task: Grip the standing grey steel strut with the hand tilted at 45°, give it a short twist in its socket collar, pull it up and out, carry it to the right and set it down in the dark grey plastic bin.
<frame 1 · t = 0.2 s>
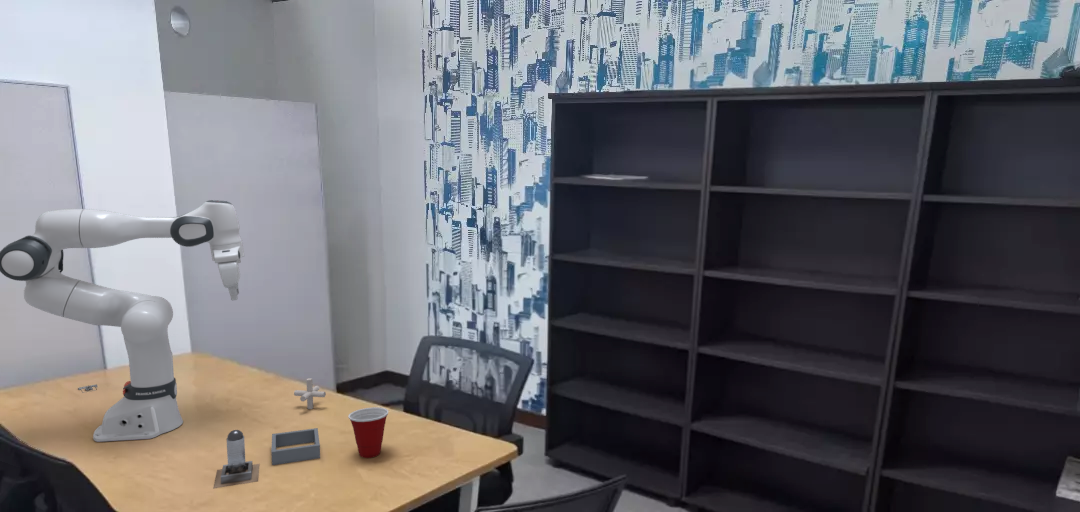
hand: (235, 297, 191), 39 cm above the table, tool pointing down, fingers open, 8 cm apart
socket plate: (237, 479, 158), on the table
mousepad: (78, 390, 219), on the table
bin: (296, 456, 171), on the table
plastic cup: (369, 453, 174), on the table
strut: (237, 475, 157), point 1 cm above the table, touching socket plate
pipe connector: (310, 408, 205), on the table
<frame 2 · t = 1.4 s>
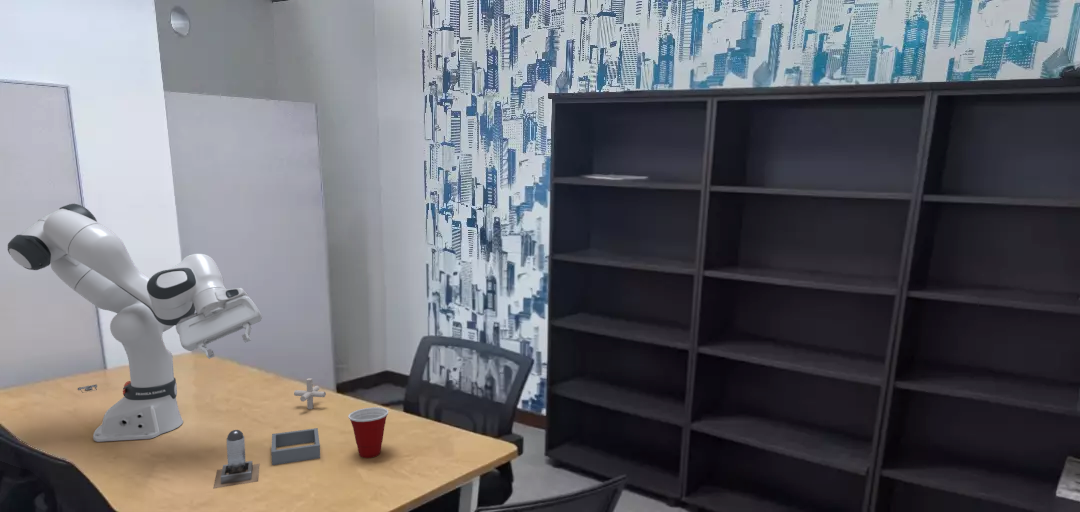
hand: (229, 348, 163), 31 cm above the table, tool tilted 45°, fingers open, 8 cm apart
nothing on the table moved.
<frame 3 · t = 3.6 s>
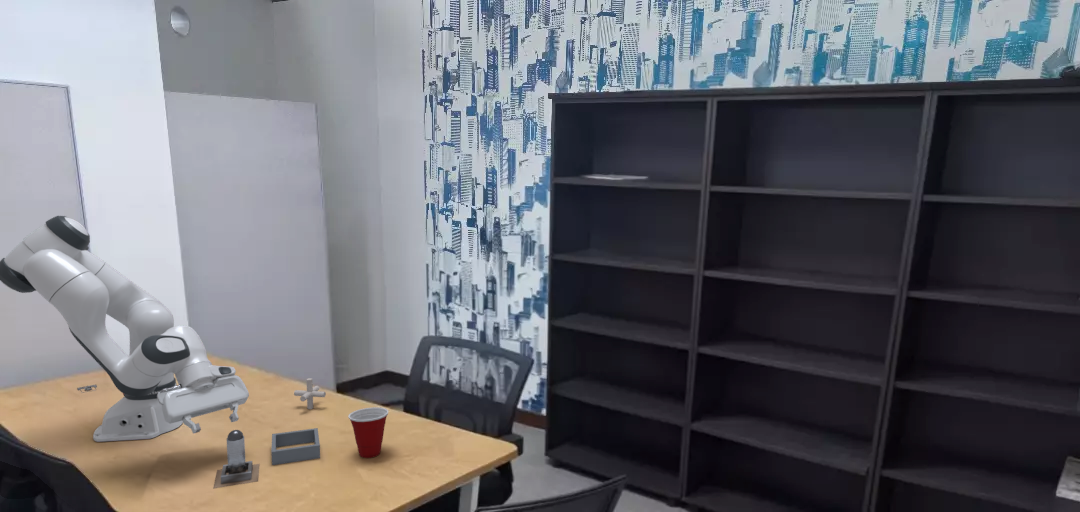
hand: (216, 426, 159), 13 cm above the table, tool tilted 45°, fingers open, 8 cm apart
nothing on the table moved.
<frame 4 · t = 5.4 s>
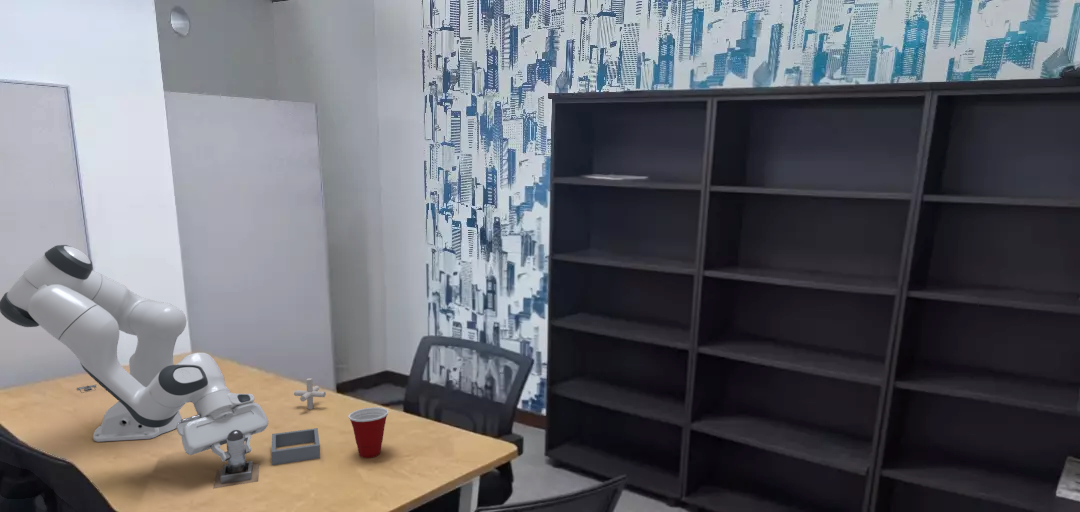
hand: (237, 456, 156), 7 cm above the table, tool tilted 45°, fingers closed on strut, 4 cm apart
strut: (237, 475, 157), point 1 cm above the table, touching gripper, socket plate
everything else where it was.
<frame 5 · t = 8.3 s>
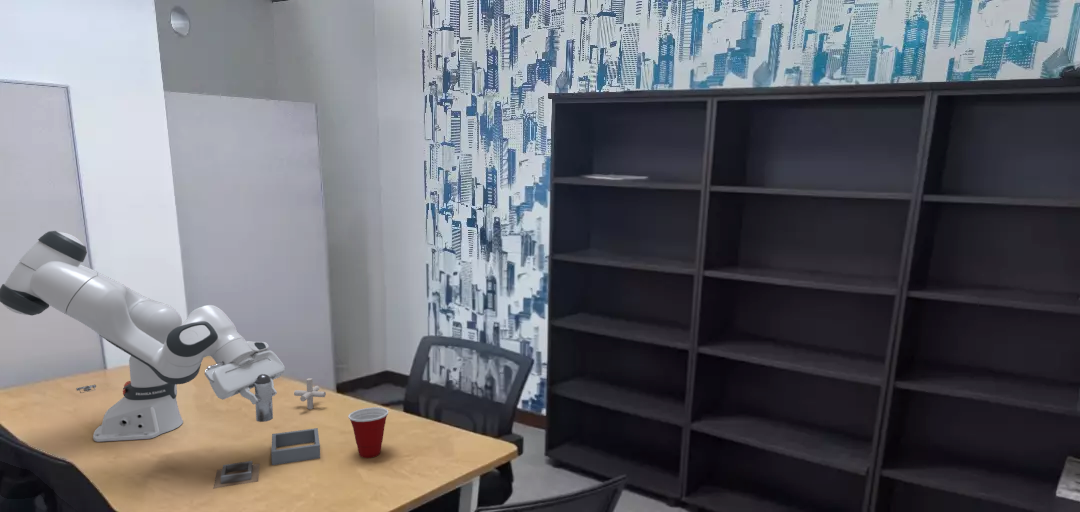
hand: (265, 398, 161), 19 cm above the table, tool tilted 45°, fingers closed on strut, 4 cm apart
strut: (264, 418, 162), point 14 cm above the table, touching gripper
everything else where it was.
when the fingers open (8 cm above the table, at t = 11.3 s): strut drops 2 cm, resting on bin.
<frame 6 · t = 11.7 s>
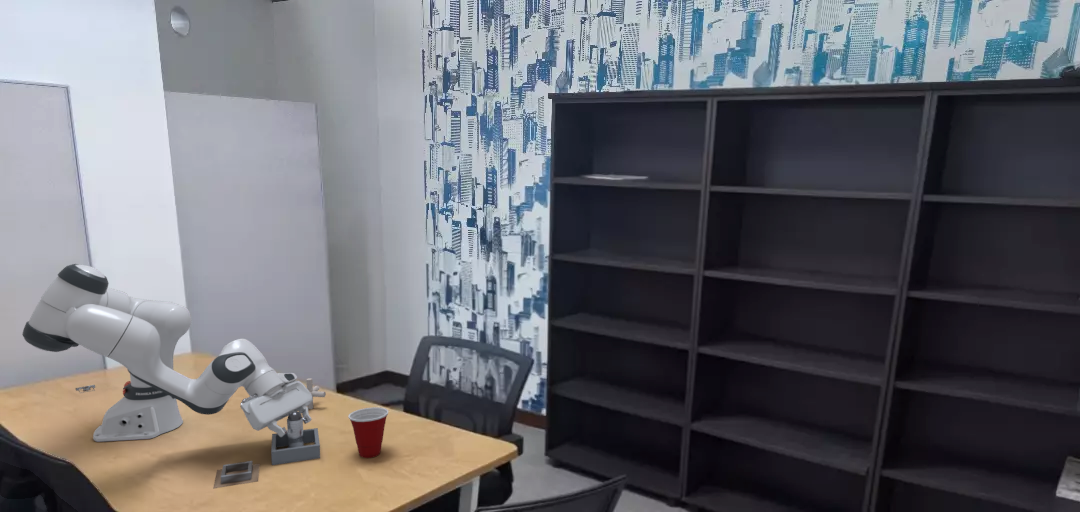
hand: (296, 428, 170), 8 cm above the table, tool tilted 45°, fingers open, 8 cm apart
strut: (296, 453, 171), point 1 cm above the table, touching bin
everything else where it was.
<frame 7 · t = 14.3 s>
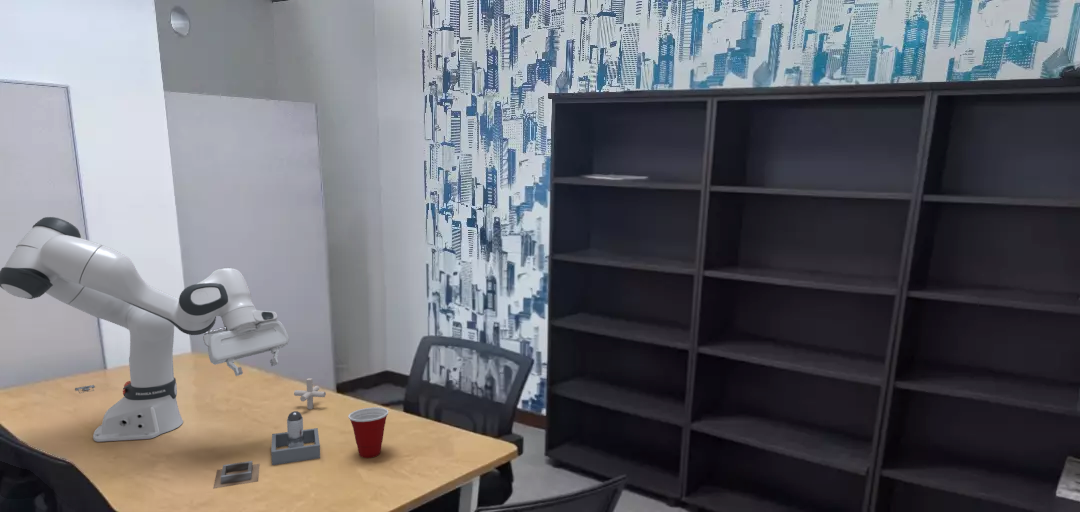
hand: (257, 369, 167), 25 cm above the table, tool tilted 35°, fingers open, 8 cm apart
nothing on the table moved.
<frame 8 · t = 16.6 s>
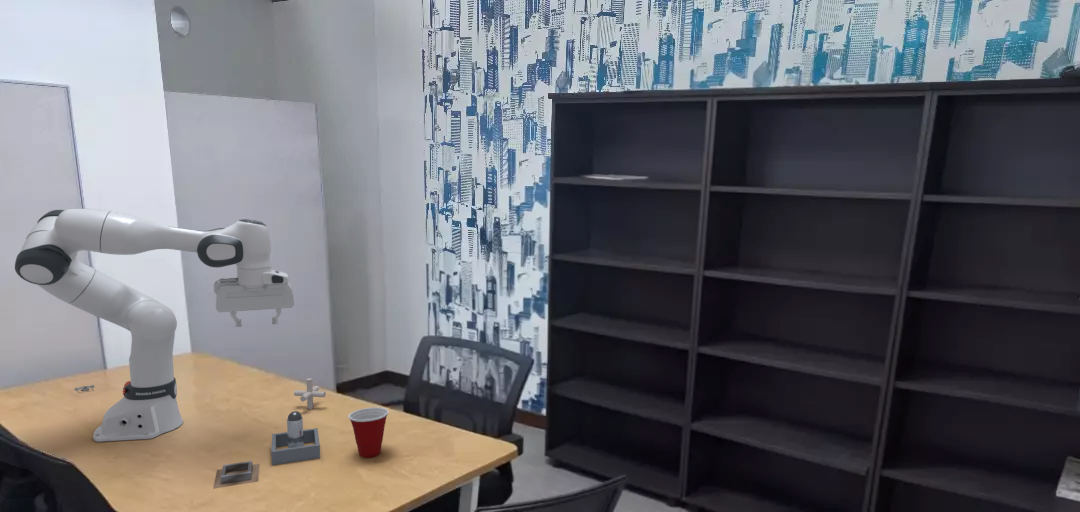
hand: (257, 325, 177), 34 cm above the table, tool pointing down, fingers open, 8 cm apart
nothing on the table moved.
at the end: strut inside the target area on the bin (0.0 cm from its centre), point 0.8 cm above the bin's base; the gripper is holding nothing; strut moved 16.7 cm from its start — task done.
